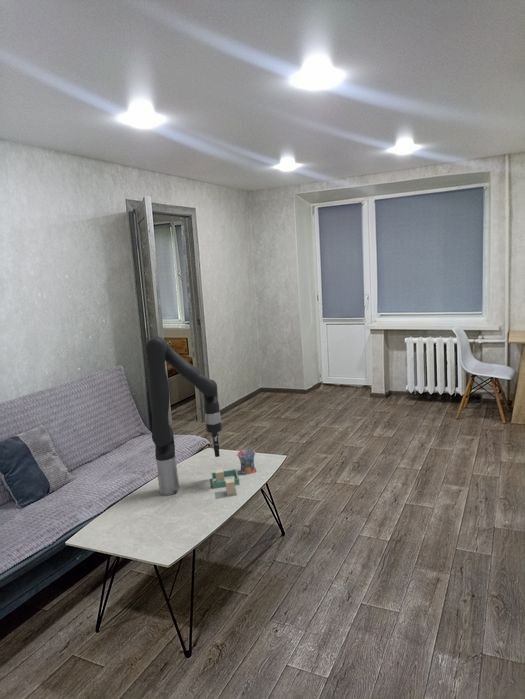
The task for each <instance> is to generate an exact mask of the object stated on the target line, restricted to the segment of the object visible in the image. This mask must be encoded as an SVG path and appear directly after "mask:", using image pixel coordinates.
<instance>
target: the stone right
mask: <svg viewBox="0 0 525 699" xmlns="http://www.w3.org/2000/svg"><path fill="white" fill-rule="evenodd" d="M234 479H235V478H230V479H225V483H226V487H225V489H226V490H225V491H226V492H227V496H228V495H235V494H236V492H237V489H236V485H235V482H234ZM235 489H236V490H235Z"/></svg>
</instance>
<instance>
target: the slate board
mask: <svg viewBox="0 0 525 699" xmlns="http://www.w3.org/2000/svg"><path fill="white" fill-rule="evenodd" d="M235 490H236V494H235V495H228V496H227V492H226V490H223V491H216V492H214V497H215V500H218V499H225V498H231V497H237V496H238V493H237V489H236V488H235Z"/></svg>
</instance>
